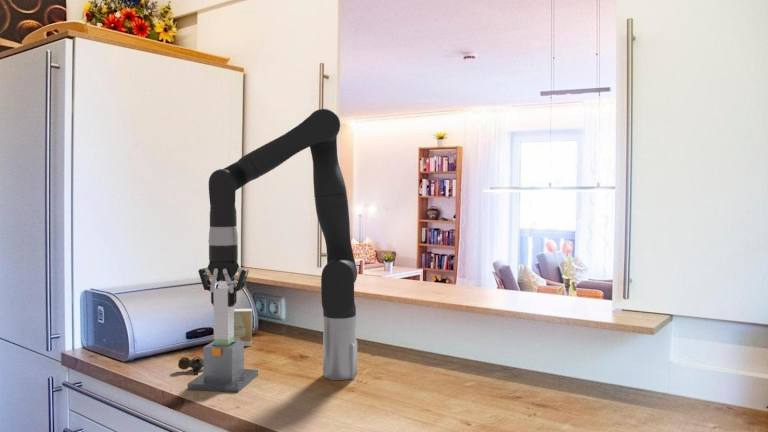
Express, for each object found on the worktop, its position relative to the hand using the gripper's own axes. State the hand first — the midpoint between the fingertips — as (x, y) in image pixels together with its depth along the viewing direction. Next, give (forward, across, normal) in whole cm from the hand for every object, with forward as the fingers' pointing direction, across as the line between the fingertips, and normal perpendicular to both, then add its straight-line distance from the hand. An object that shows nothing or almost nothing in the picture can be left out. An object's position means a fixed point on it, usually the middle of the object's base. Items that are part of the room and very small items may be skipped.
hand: (223, 305), depth 149 cm
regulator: (+21, +10, -9) cm, 25 cm away
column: (+13, 0, 0) cm, 13 cm away
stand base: (+21, 0, 0) cm, 21 cm away
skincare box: (+21, +10, -37) cm, 44 cm away
